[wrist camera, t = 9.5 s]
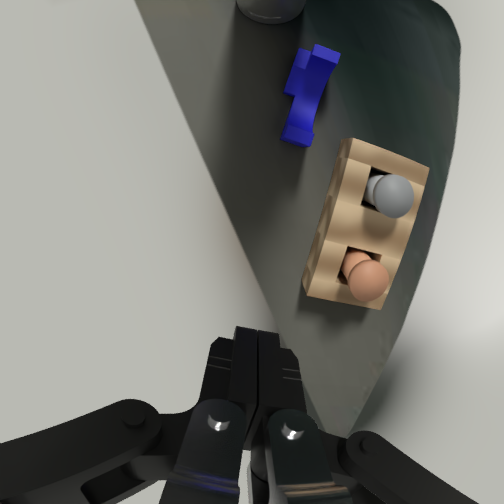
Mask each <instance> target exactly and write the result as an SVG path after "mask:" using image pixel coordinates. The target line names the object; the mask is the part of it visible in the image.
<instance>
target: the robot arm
mask: <svg viewBox="0 0 504 504" xmlns="http://www.w3.org/2000/svg"><path fill="white" fill-rule="evenodd" d="M236 1H237V5H238V7H239V9H240V10H241V12H242V13H243V14H244V15H246V16H247V17H248V18H250V19H252V20H254V21H257V22H260V23H265V24H280V23H285V22H288V21H290V20H292V19H294V18H295V17H297V16H298V15H299V14H300V13H301V11H302V10H303V8H304V5H305V2H306V0H236ZM299 371H300V368H299V363H298V359H297V357H296V356H295V355H294V353H293V352H292V351H291V349H285V348H280V340H279V334H278V333H273V332H267V331H261V330H258V331H257V330H255V329H250V328H245V327H239V326H236V329H235V333H234V337H233V340H232V339H226V338H222V337H218V338H217V339H216V340H215V341H214V342H213V343H212V344H211V347H210V351H209V356H208V361H207V365H206V369H205V374H204V378H203V383H202V388H201V392H200V397H199V400H198V402H197V403H196V405H195V406H194V407H192V408H191V409H190V410H188V411H185V412H182V413H176V414H159V413H158V411H157V410H156V409H155V408H154V407H153V406H151V405H150V404H148V403H146V402H144V401H141V400H136V399H125V400H121V401H118V402H116V403H113V404H111V405H108V406H106V407H104V408H101V409H98V410H96V411H93V412H91V413H88V414H86V415H83V416H81V417H78V418H76V419H73V420H70V421H68V422H65V423H62V424H59V425H57V426H53V427H51V428H48V429H45V430H42V431H39V432H36V433H33V434H30V435H27V436H24V437H20V438H17V439H14V440H11V441H7V442H4V443H0V504H116V503H118V502H120V501H122V500H124V499H126V498H128V497H130V496H132V495H134V494H136V493H138V492H139V491H141V490H143V489H145V488H147V487H148V486H150V485H152V484H154V483H155V482H157V481H158V480H167V481H166V484H165V487H164V490H163V492H162V496H161V499H160V501H159V504H238V503H239V495H240V488H239V486H238V479H239V472H240V466H241V459H242V452H243V450H249V451H251V461H250V463H249V465H248V468H247V482H248V495H249V496H248V497H249V504H478V503H477V502H475V501H474V500H472V499H470V498H469V497H467V496H466V495H464V494H462V493H461V492H459V491H458V490H456V489H455V488H453V487H452V486H450V485H449V484H447V483H446V482H444V481H443V480H441V479H440V478H438V477H437V476H435V475H434V474H432V473H431V472H430V471H428V470H427V469H425V468H424V467H422V466H421V465H420V464H418V463H417V462H415V461H414V460H412V459H411V458H410V457H408V456H407V455H406V454H404V453H403V452H402V451H400V450H399V449H397V448H396V447H395V446H393V445H392V444H391V443H389V442H388V441H387V440H385V439H384V438H383V437H381V436H380V435H378V434H376V433H374V432H371V431H358V432H355V433H353V434H352V435H351V436H350V437H349V438H348V439H346V438H342V437H339V436H335V435H332V434H328V433H326V432H324V431H321V430H320V429H319V428H318V425H317V423H316V422H315V420H314V419H313V418H312V417H311V416H309V415H308V414H307V410H306V405H305V398H304V392H303V386H302V381H301V374H300V372H299ZM369 490H370V491H369ZM378 497H379V498H378ZM382 500H383V501H382Z"/></svg>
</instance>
